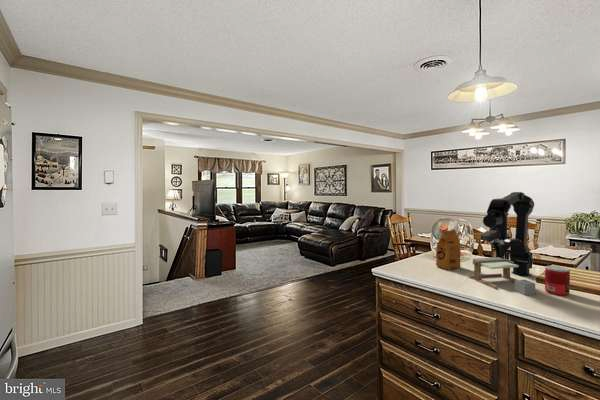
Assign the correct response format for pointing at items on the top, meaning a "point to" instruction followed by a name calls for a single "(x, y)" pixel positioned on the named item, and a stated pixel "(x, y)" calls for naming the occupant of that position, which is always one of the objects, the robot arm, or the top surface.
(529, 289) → the stone
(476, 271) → the frame
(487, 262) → the trapdoor
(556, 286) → the canned food
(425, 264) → the top surface
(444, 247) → the coffee package
